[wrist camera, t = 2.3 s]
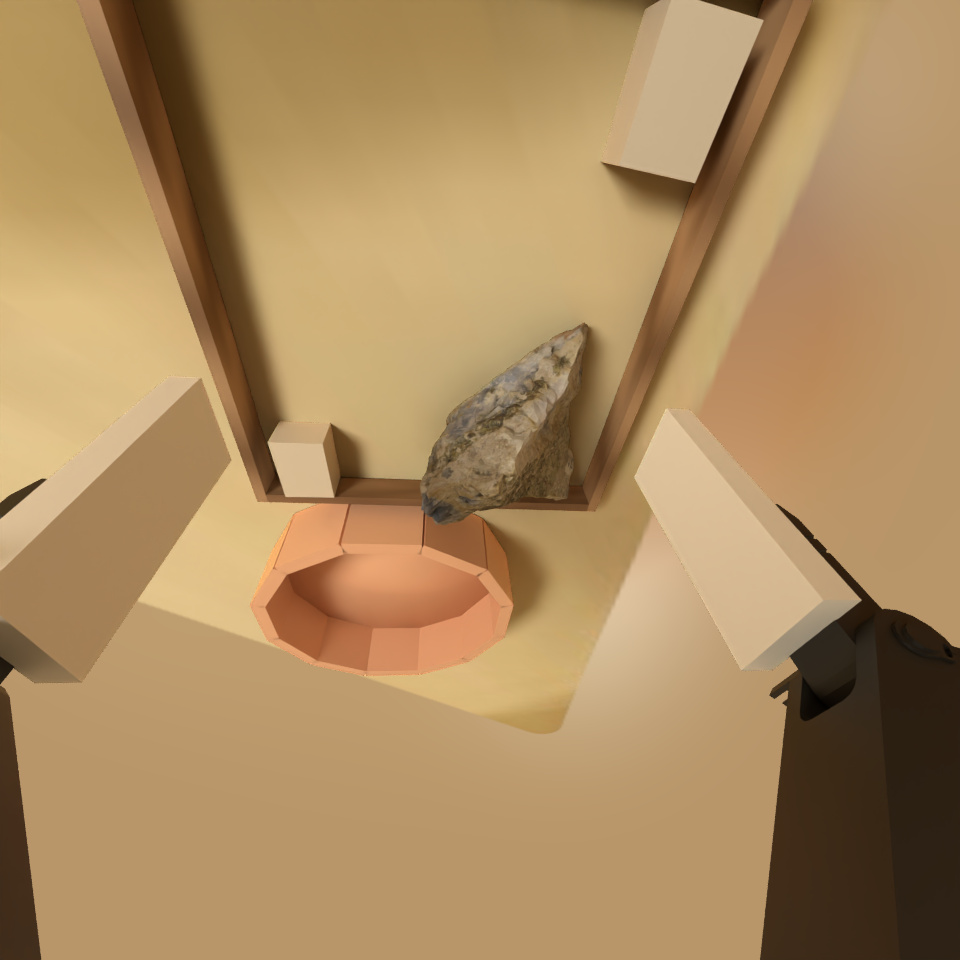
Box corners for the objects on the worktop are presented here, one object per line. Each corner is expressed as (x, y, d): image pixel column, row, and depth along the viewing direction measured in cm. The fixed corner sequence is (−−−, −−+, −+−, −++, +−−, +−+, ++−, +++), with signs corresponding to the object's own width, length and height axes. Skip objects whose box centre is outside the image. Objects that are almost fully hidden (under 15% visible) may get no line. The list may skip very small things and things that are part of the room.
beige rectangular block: (642, 10, 13) (673, -8, 12) (722, 34, 14) (763, 20, 12) (599, 161, 16) (618, 166, 14) (667, 177, 16) (695, 183, 15)
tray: (47, -201, 10) (-15, -252, 9) (795, -38, 13) (837, -58, 11) (267, 481, 25) (257, 501, 24) (587, 492, 28) (595, 511, 27)
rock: (615, 320, 19) (586, 476, 26) (507, 299, 22) (507, 445, 28) (476, 442, 12) (486, 609, 19) (347, 390, 15) (395, 552, 22)
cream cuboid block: (280, 419, 23) (267, 442, 21) (331, 421, 23) (322, 443, 21) (295, 472, 25) (285, 496, 24) (341, 473, 26) (334, 497, 24)
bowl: (247, 486, 25) (217, 541, 22) (520, 495, 28) (531, 547, 24) (300, 627, 37) (285, 677, 34) (489, 626, 39) (493, 673, 36)
